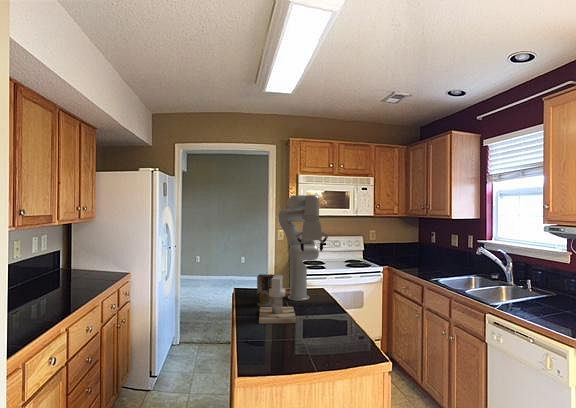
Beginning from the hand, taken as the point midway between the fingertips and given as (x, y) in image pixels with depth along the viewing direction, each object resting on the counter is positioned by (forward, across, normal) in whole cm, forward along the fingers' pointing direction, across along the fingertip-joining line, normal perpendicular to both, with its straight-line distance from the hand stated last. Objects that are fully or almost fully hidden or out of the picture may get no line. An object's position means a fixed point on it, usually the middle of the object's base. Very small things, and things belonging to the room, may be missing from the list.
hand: (311, 251), depth 184 cm
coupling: (+20, -17, -13) cm, 30 cm away
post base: (+30, -18, -13) cm, 38 cm away
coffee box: (+31, -24, +9) cm, 40 cm away
